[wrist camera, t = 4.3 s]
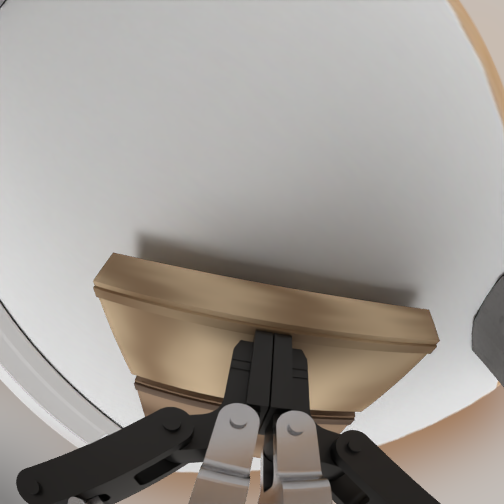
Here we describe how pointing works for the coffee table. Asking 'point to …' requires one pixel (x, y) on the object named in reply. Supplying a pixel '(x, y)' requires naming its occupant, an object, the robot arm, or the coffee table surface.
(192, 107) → the coffee table surface
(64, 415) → the crown molding
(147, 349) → the oak plank
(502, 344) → the coffeepot
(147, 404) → the walnut board
